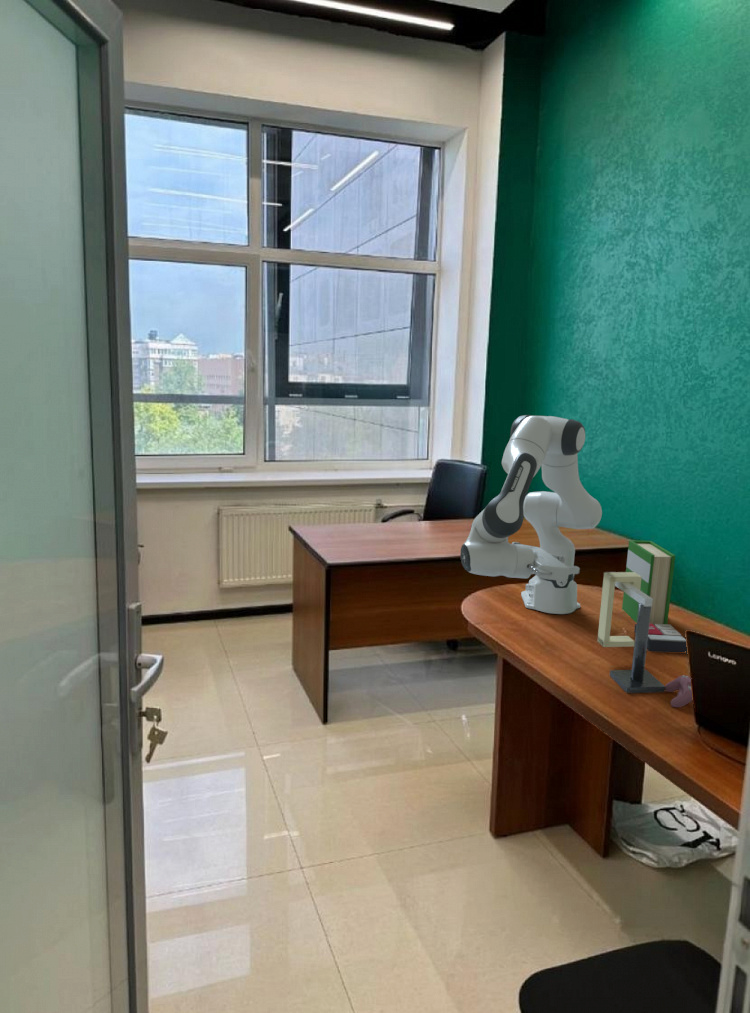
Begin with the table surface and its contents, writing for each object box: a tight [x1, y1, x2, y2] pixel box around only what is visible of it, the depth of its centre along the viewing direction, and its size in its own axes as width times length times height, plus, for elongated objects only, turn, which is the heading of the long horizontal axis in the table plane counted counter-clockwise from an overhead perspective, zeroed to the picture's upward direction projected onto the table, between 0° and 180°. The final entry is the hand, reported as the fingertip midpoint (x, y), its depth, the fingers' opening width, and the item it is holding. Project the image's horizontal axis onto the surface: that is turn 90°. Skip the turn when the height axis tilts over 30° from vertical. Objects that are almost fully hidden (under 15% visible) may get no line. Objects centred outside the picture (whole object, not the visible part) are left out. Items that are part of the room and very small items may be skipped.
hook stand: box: [609, 582, 666, 694], centre depth 186 cm, size 26×10×24 cm, turn 6°
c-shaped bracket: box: [597, 571, 642, 648], centre depth 191 cm, size 4×9×20 cm, turn 96°
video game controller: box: [664, 674, 693, 708], centre depth 171 cm, size 10×5×7 cm, turn 167°
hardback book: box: [621, 540, 676, 625], centre depth 224 cm, size 18×7×24 cm, turn 2°
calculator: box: [633, 623, 688, 654], centre depth 208 cm, size 11×4×15 cm
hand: (570, 564), depth 187 cm, fingers open, 8 cm apart
